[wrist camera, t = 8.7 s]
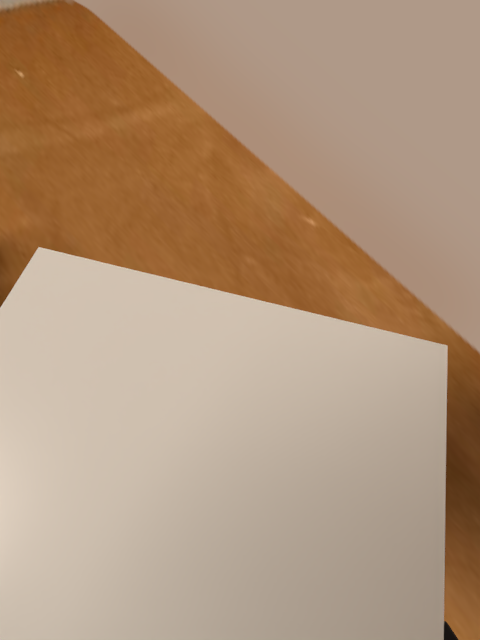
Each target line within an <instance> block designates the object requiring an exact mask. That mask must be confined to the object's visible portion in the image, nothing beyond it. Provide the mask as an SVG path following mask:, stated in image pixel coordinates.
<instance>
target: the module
mask: <svg viewBox="0 0 480 640" xmlns="http://www.w3.org/2000/svg"><path fill="white" fill-rule="evenodd" d="M446 422H447V345H443V344H439V343H434V342H430V341H426V340H422V339H418V338H414V337H410V336H405V335H401V334H397V333H393V332H389V331H385V330H380V329H376V328H372V327H368V326H364V325H360V324H356V323H351V322H347V321H343V320H339V319H335V318H331V317H327V316H322V315H318V314H314V313H310V312H306V311H302V310H297V309H293V308H289V307H285V306H281V305H277V304H273V303H268V302H264V301H260V300H256V299H252V298H248V297H244V296H239V295H235V294H231V293H227V292H223V291H219V290H215V289H210V288H206V287H202V286H198V285H194V284H190V283H185V282H181V281H177V280H173V279H169V278H165V277H161V276H156V275H152V274H148V273H144V272H140V271H136V270H132V269H127V268H123V267H119V266H115V265H111V264H107V263H102V262H98V261H94V260H90V259H86V258H82V257H78V256H73V255H69V254H65V253H61V252H57V251H53V250H49V249H44V248H40V247H39V248H38V249H37V251H36V252H35V254H34V255H33V257H32V259H31V260H30V262H29V263H28V265H27V266H26V268H25V270H24V271H23V273H22V274H21V276H20V278H19V279H18V281H17V282H16V284H15V285H14V287H13V289H12V290H11V292H10V293H9V295H8V296H7V298H6V300H5V301H4V303H3V304H2V306H1V308H0V640H444V575H445V499H446Z"/></svg>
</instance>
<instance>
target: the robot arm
mask: <svg viewBox="0 0 480 640" xmlns="http://www.w3.org/2000/svg"><path fill="white" fill-rule="evenodd" d="M444 640H458V638H457V637H456V635H455V634H454V632H453V631H452V629H451V628H450V626H449V625H448V623H447V622H446V621H444Z"/></svg>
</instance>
